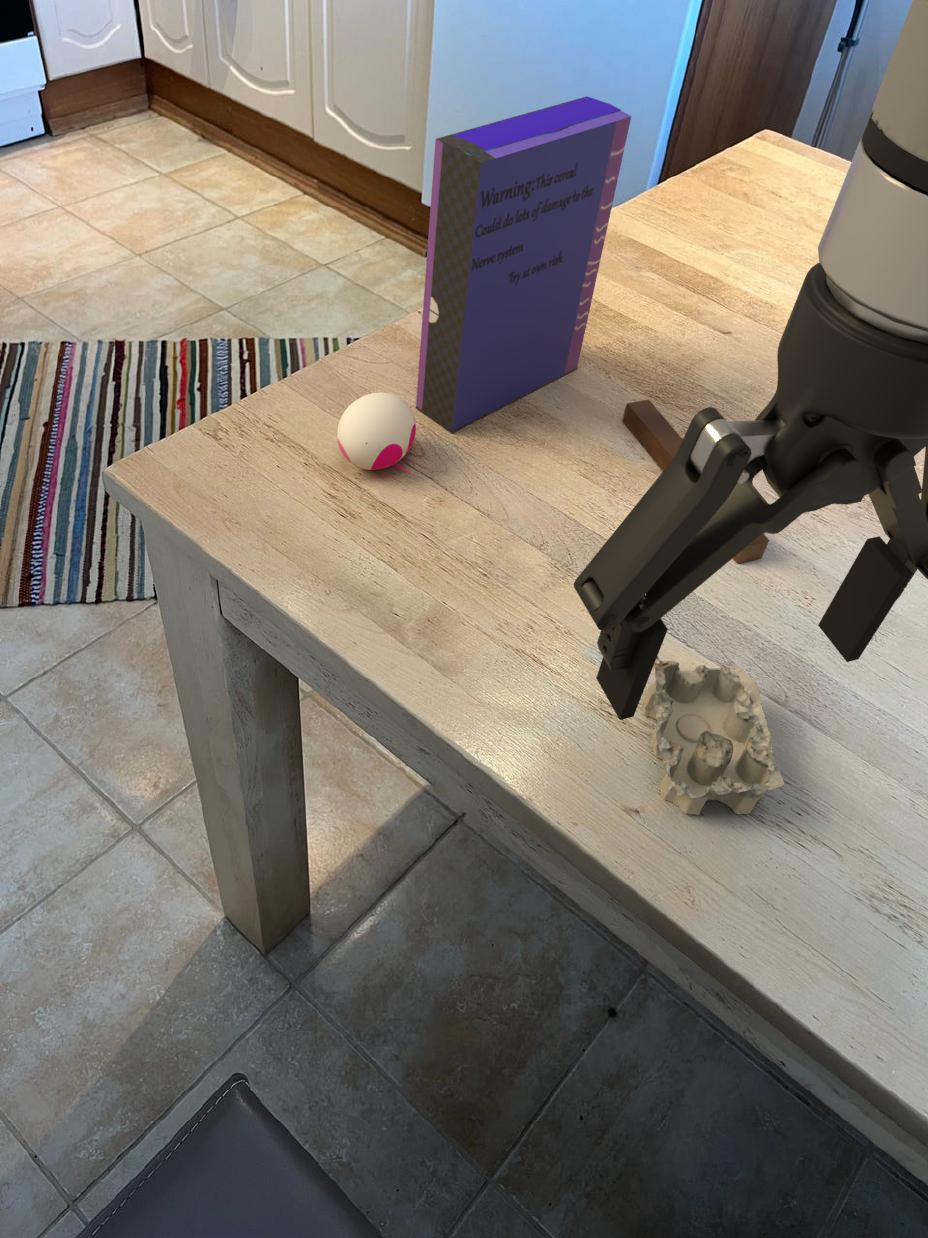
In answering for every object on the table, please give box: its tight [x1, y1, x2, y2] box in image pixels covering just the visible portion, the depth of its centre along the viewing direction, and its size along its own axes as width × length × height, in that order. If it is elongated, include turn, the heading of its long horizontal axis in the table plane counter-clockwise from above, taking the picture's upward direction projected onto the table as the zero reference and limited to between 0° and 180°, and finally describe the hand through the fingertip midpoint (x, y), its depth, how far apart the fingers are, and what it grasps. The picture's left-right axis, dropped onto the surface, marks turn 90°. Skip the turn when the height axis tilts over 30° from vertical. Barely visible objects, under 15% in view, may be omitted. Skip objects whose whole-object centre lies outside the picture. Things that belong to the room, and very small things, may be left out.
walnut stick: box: [622, 399, 770, 564], centre depth 83 cm, size 20×2×2 cm, turn 22°
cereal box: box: [415, 95, 632, 434], centre depth 82 cm, size 17×5×24 cm, turn 134°
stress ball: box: [336, 392, 417, 475], centre depth 80 cm, size 8×8×7 cm
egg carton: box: [641, 656, 785, 816], centre depth 63 cm, size 11×8×4 cm
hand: (730, 669), depth 49 cm, fingers open, 13 cm apart
